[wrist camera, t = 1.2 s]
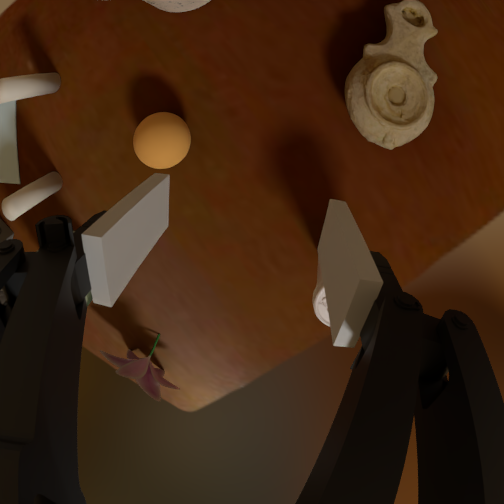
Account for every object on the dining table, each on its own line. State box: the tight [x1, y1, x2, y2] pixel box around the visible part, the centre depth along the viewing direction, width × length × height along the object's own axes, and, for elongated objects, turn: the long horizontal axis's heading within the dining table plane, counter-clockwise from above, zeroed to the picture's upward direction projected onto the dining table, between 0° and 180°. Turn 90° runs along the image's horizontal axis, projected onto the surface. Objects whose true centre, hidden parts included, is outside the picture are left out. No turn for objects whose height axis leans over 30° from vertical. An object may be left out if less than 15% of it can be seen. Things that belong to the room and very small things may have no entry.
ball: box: [133, 112, 191, 169], centre depth 27 cm, size 6×6×6 cm
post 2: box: [2, 171, 62, 221], centre depth 29 cm, size 3×3×9 cm
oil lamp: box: [345, 0, 438, 150], centre depth 22 cm, size 11×14×5 cm
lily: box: [100, 334, 180, 402], centre depth 43 cm, size 12×12×10 cm
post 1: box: [0, 72, 61, 104], centre depth 23 cm, size 3×3×9 cm
